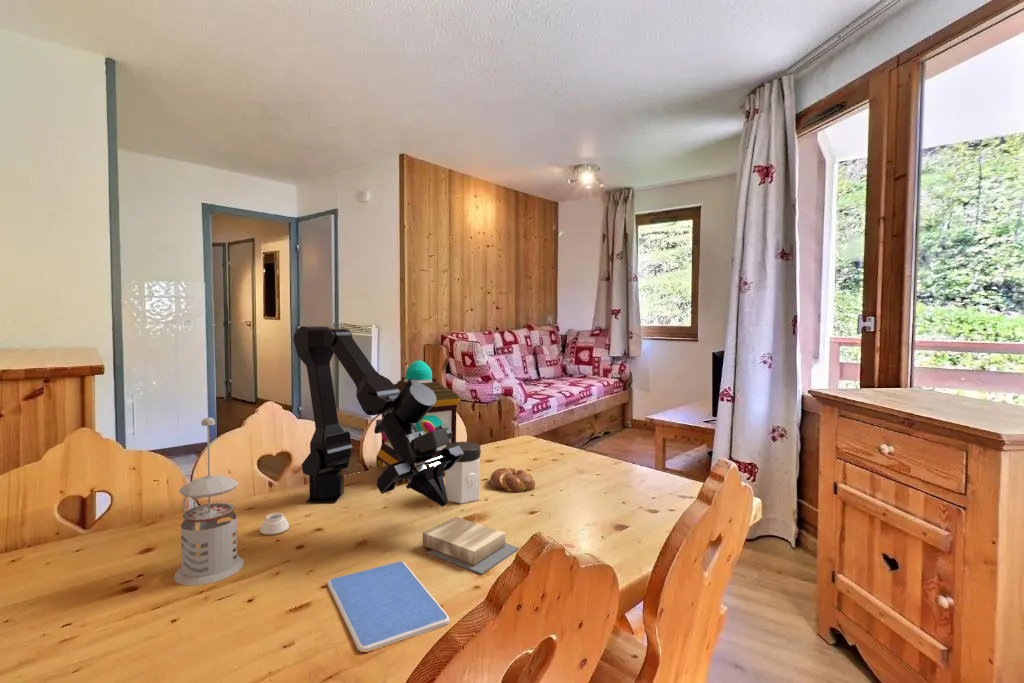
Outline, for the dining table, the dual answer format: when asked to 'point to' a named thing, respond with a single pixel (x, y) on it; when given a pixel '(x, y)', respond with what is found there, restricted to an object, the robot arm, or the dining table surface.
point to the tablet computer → (385, 605)
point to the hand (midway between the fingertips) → (445, 504)
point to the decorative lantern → (435, 416)
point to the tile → (464, 540)
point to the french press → (208, 531)
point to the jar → (464, 474)
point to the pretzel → (511, 480)
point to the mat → (482, 565)
